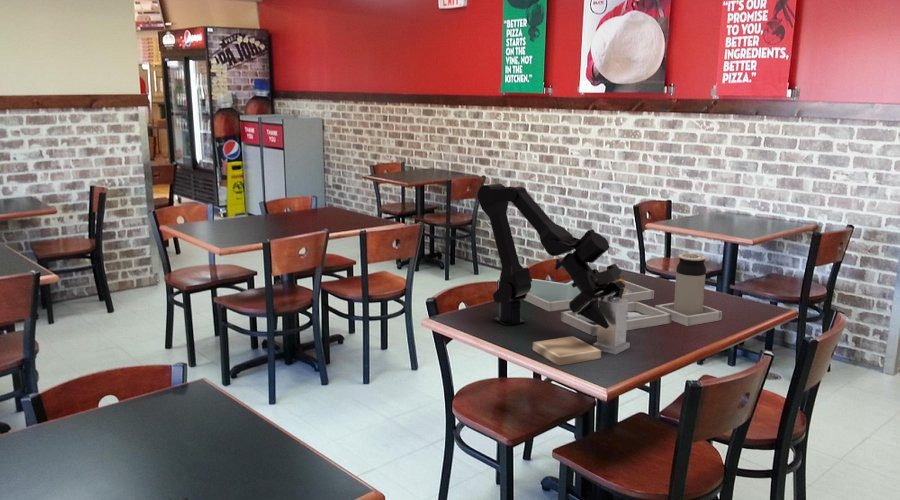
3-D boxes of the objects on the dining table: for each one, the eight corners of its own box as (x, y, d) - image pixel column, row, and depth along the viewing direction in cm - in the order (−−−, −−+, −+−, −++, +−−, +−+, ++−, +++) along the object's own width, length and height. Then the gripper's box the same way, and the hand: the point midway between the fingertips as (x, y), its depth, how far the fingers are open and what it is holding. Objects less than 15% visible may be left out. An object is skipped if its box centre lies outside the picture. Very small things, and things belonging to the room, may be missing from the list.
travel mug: (671, 319, 210) (676, 257, 206) (674, 311, 217) (678, 252, 214) (701, 322, 207) (706, 260, 203) (702, 314, 214) (707, 254, 211)
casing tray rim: (560, 320, 208) (560, 312, 207) (635, 309, 219) (636, 301, 219) (592, 336, 195) (593, 327, 194) (671, 323, 206) (671, 314, 206)
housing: (592, 348, 185) (594, 298, 183) (606, 341, 190) (609, 292, 188) (615, 354, 181) (618, 302, 178) (629, 347, 186) (632, 297, 183)
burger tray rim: (577, 291, 239) (577, 284, 238) (618, 286, 246) (619, 278, 246) (610, 304, 224) (610, 296, 223) (653, 298, 231) (654, 290, 231)
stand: (532, 349, 184) (532, 341, 183) (573, 343, 189) (573, 335, 188) (558, 365, 173) (558, 357, 173) (600, 358, 178) (601, 350, 178)
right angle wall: (582, 300, 230) (583, 276, 228) (566, 309, 220) (567, 284, 218) (547, 294, 236) (547, 272, 234) (530, 303, 226) (531, 279, 224)
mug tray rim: (654, 313, 215) (655, 305, 215) (688, 308, 221) (688, 300, 220) (686, 326, 204) (687, 317, 203) (721, 320, 209) (722, 311, 209)
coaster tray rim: (518, 297, 232) (518, 289, 231) (563, 291, 239) (563, 284, 238) (548, 311, 217) (549, 303, 216) (595, 304, 224) (595, 296, 223)
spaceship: (578, 326, 203) (579, 311, 203) (572, 320, 210) (572, 304, 209) (659, 324, 206) (660, 308, 205) (650, 317, 213) (651, 302, 212)
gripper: (581, 261, 177) (620, 314, 172) (620, 249, 190) (657, 298, 185) (553, 287, 183) (589, 338, 179) (592, 274, 197) (627, 322, 192)
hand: (617, 323), depth 183 cm, fingers open, 9 cm apart
